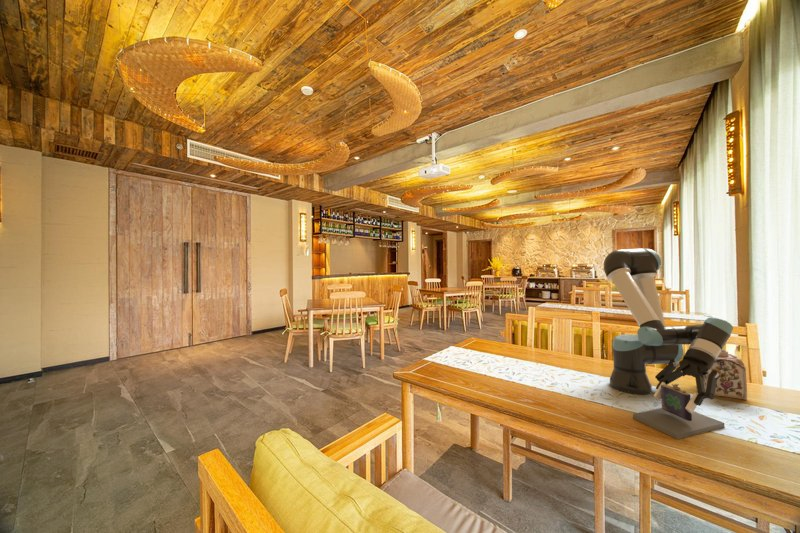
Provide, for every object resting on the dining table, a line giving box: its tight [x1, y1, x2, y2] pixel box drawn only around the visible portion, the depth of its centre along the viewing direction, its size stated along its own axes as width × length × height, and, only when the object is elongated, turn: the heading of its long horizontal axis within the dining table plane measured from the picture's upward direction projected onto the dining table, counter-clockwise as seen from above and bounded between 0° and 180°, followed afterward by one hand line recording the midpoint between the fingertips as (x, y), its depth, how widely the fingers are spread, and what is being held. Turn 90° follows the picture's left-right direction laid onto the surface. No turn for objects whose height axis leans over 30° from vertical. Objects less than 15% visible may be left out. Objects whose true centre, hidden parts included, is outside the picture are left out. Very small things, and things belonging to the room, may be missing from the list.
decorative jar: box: [703, 349, 748, 401], centre depth 125 cm, size 12×12×18 cm
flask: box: [661, 383, 692, 421], centre depth 103 cm, size 9×3×11 cm, turn 8°
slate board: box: [632, 407, 725, 440], centre depth 103 cm, size 14×22×2 cm, turn 105°
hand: (671, 404), depth 103 cm, fingers closed on flask, 9 cm apart
